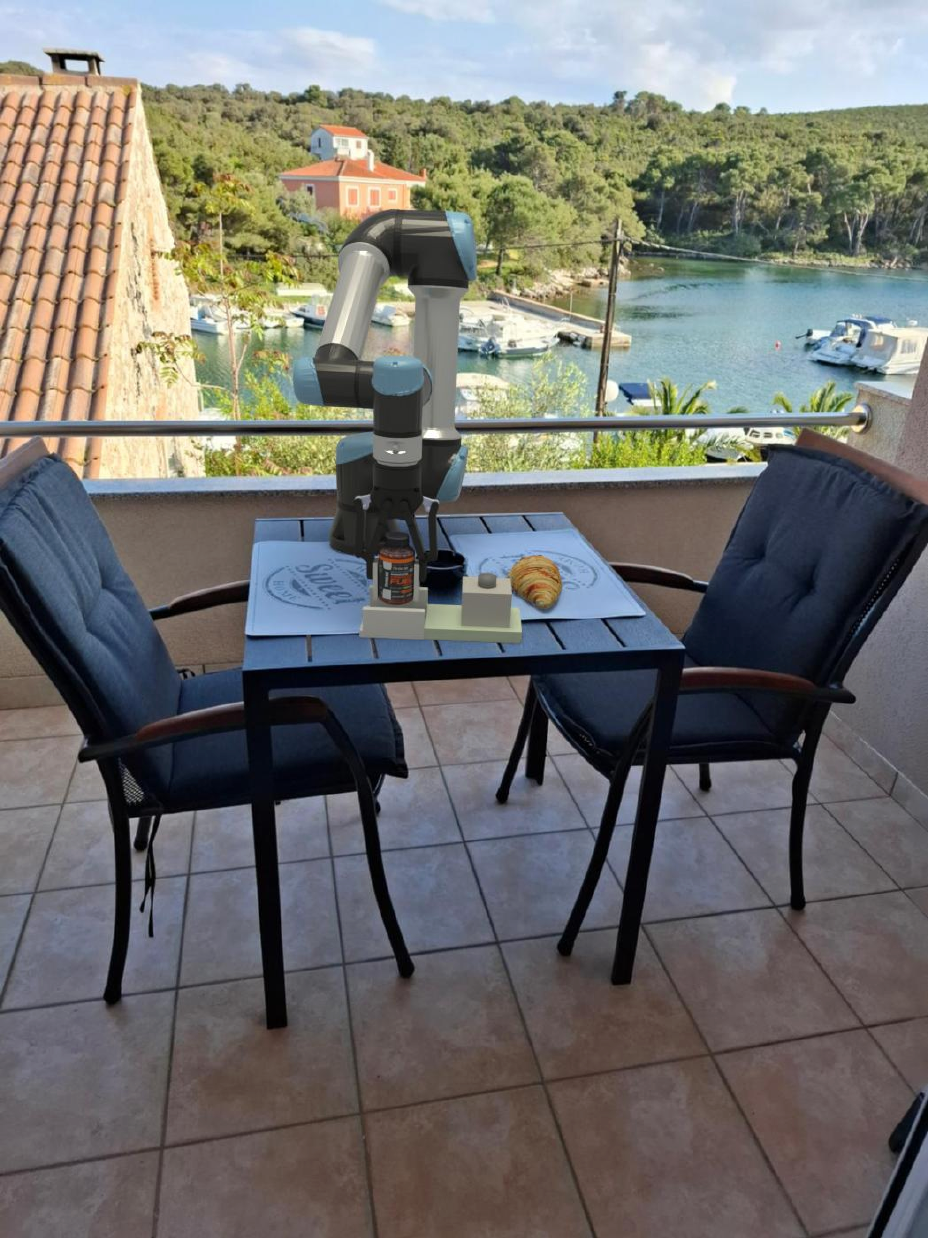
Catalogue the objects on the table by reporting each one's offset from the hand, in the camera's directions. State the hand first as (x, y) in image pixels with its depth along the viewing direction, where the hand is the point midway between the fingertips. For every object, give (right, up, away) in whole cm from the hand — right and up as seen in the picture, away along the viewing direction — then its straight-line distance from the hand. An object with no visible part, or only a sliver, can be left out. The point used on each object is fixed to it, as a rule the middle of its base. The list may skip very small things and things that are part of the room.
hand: (396, 597), depth 139 cm
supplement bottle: (0, 0, 0) cm, 0 cm away
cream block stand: (+8, -5, +2) cm, 9 cm away
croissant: (+24, +1, +19) cm, 31 cm away
